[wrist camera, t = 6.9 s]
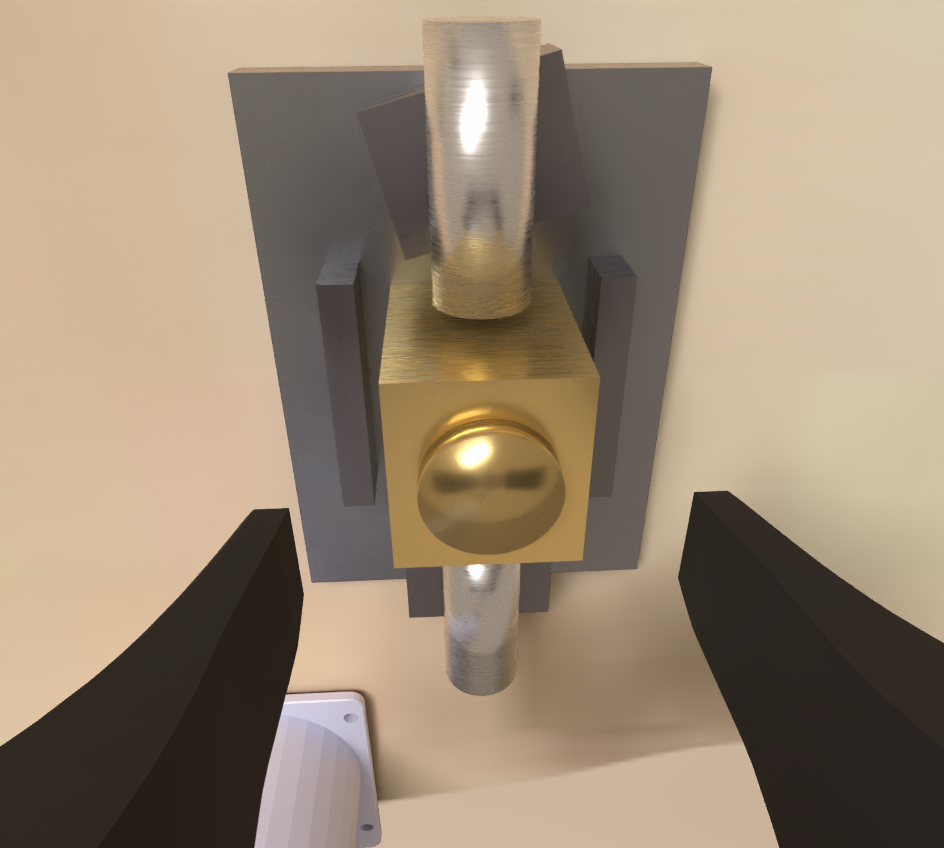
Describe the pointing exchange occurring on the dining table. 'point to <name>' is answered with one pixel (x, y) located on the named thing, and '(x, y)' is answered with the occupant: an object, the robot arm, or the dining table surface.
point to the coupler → (486, 431)
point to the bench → (358, 221)
